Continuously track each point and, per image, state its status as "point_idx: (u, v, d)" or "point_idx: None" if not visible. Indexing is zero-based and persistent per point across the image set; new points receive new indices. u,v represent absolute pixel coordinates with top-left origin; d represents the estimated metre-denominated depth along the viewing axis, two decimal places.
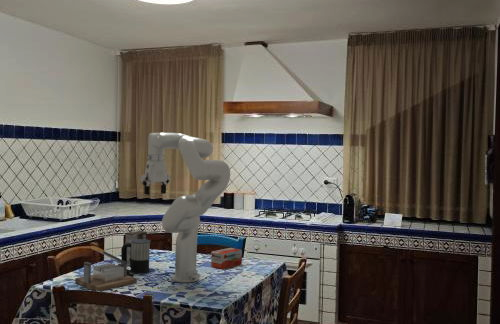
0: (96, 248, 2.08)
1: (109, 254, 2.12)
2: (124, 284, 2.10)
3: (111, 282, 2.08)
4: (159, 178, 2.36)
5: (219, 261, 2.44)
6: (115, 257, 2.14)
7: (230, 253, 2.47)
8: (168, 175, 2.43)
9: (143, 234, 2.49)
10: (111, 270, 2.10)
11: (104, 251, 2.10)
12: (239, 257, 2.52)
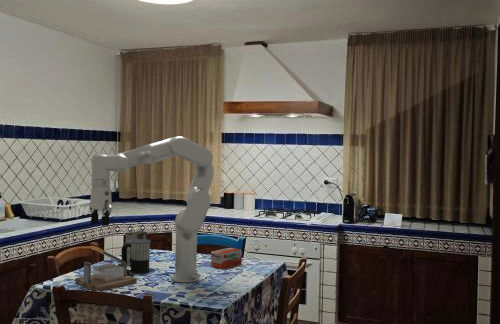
0: (96, 248, 2.08)
1: (109, 254, 2.12)
2: (124, 284, 2.10)
3: (111, 282, 2.08)
4: None
5: (219, 261, 2.44)
6: (115, 257, 2.14)
7: (230, 253, 2.47)
8: None
9: (143, 234, 2.49)
10: (111, 270, 2.10)
11: (104, 251, 2.10)
12: (238, 256, 2.52)
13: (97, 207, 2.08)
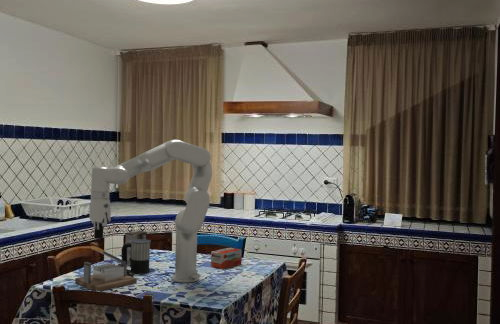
0: (96, 248, 2.08)
1: (109, 254, 2.12)
2: (124, 284, 2.10)
3: (111, 282, 2.08)
4: None
5: (219, 261, 2.44)
6: (115, 257, 2.14)
7: (230, 253, 2.47)
8: None
9: (143, 234, 2.49)
10: (111, 270, 2.10)
11: (104, 251, 2.10)
12: (238, 256, 2.52)
13: (96, 219, 2.08)
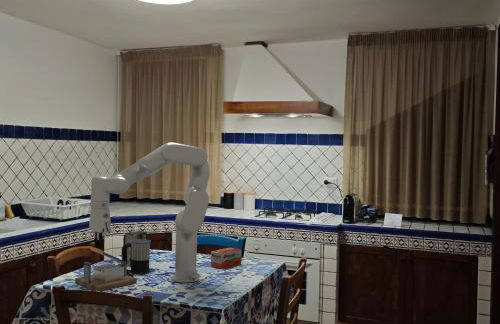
0: (95, 249, 2.08)
1: (109, 255, 2.12)
2: (124, 284, 2.10)
3: (111, 282, 2.08)
4: None
5: (219, 261, 2.44)
6: (115, 257, 2.14)
7: (230, 253, 2.47)
8: None
9: (143, 234, 2.49)
10: (111, 270, 2.10)
11: (104, 252, 2.10)
12: (238, 256, 2.53)
13: (96, 229, 2.08)
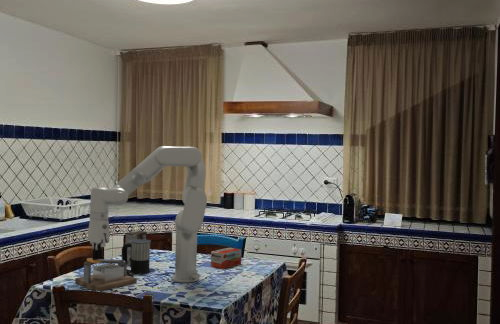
0: (92, 261, 2.07)
1: (106, 261, 2.11)
2: (124, 284, 2.10)
3: (111, 282, 2.08)
4: None
5: (219, 261, 2.44)
6: (113, 261, 2.14)
7: (230, 253, 2.47)
8: None
9: (143, 234, 2.49)
10: (111, 270, 2.10)
11: (101, 260, 2.09)
12: (238, 256, 2.53)
13: (95, 240, 2.08)
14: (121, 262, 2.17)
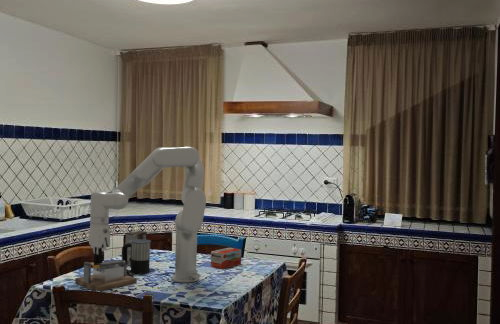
0: (91, 266, 2.07)
1: (106, 264, 2.11)
2: (124, 284, 2.10)
3: (111, 282, 2.08)
4: None
5: (218, 261, 2.44)
6: (113, 263, 2.14)
7: (230, 253, 2.48)
8: None
9: (143, 234, 2.49)
10: (111, 270, 2.10)
11: (100, 264, 2.09)
12: (238, 256, 2.53)
13: (95, 244, 2.08)
14: (121, 263, 2.17)
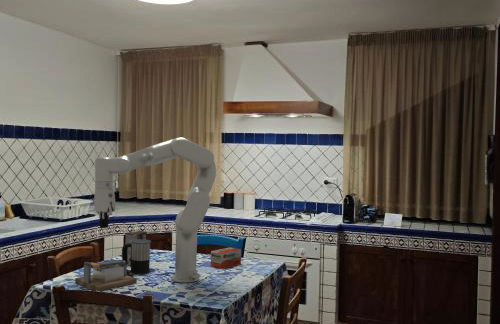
0: (91, 266, 2.07)
1: (106, 264, 2.11)
2: (124, 284, 2.10)
3: (111, 282, 2.08)
4: None
5: (218, 261, 2.45)
6: (113, 263, 2.14)
7: (230, 253, 2.48)
8: None
9: (143, 234, 2.49)
10: (111, 270, 2.10)
11: (100, 264, 2.09)
12: (238, 256, 2.53)
13: (101, 209, 2.11)
14: (121, 263, 2.17)
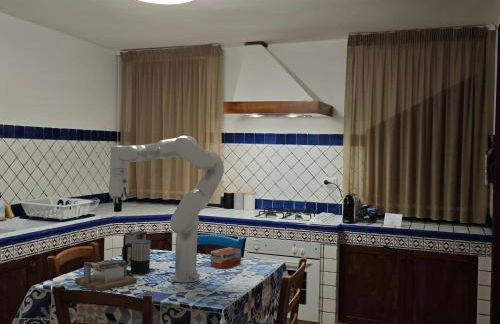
0: (91, 266, 2.07)
1: (106, 264, 2.11)
2: (124, 284, 2.10)
3: (111, 282, 2.08)
4: None
5: (218, 261, 2.45)
6: (113, 263, 2.14)
7: (229, 253, 2.48)
8: None
9: (143, 234, 2.49)
10: (111, 270, 2.10)
11: (100, 264, 2.09)
12: (238, 256, 2.53)
13: (115, 194, 2.25)
14: (121, 263, 2.17)
